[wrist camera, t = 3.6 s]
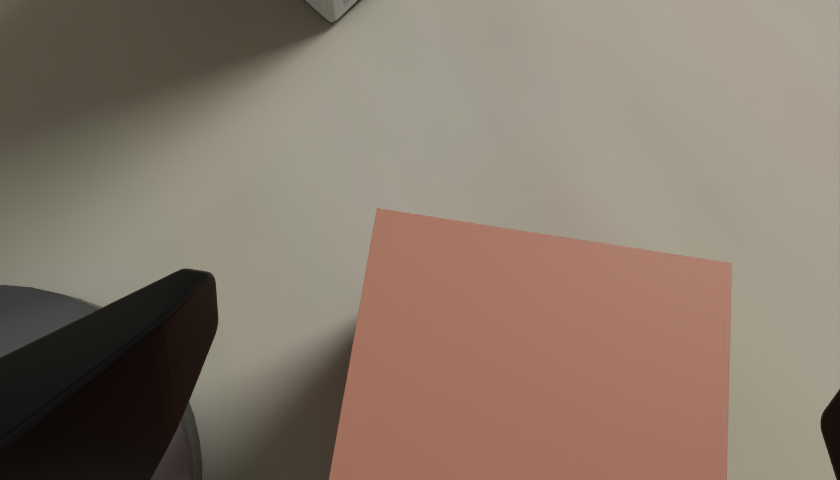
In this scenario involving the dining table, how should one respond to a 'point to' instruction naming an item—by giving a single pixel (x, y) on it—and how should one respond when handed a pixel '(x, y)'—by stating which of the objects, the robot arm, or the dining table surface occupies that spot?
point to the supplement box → (331, 7)
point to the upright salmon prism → (533, 359)
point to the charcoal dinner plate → (47, 311)
